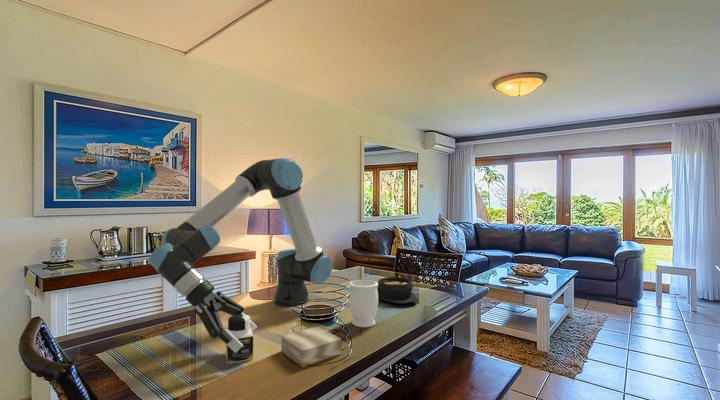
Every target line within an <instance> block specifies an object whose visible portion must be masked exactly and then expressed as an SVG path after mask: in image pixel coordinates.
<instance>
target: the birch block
mask: <svg viewBox="0 0 720 400" xmlns="http://www.w3.org/2000/svg"><path fill="white" fill-rule="evenodd" d="M280 340H281V341H280V342H281V352H282V353H283V354H284V353H285V354H284V355H286V356H287V355H288V356H289V357H291V358H292V359H294V360H295V361H296V362H298V363H299V364H300V365H302V366H304V365H308V364H310V363H313V362H315V361H318V360H321V359H324V358H327V357H330V356H334V355H337V354H340V353H341V354H342V338H341V337H338V336H337V335H335V334H333V333H331V332H329V331H328V330H326V329H324V328H323V327H321V326H314V327H310V328H306V329H303V330H298V331H296V332H292V333H287V334H285V335H281V339H280ZM288 356H287V357H288ZM289 357H288V358H289ZM291 358H290V359H291ZM292 359H291V360H292ZM295 361H294V362H295ZM296 362H295V363H296ZM300 365H299V366H300Z"/></svg>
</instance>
